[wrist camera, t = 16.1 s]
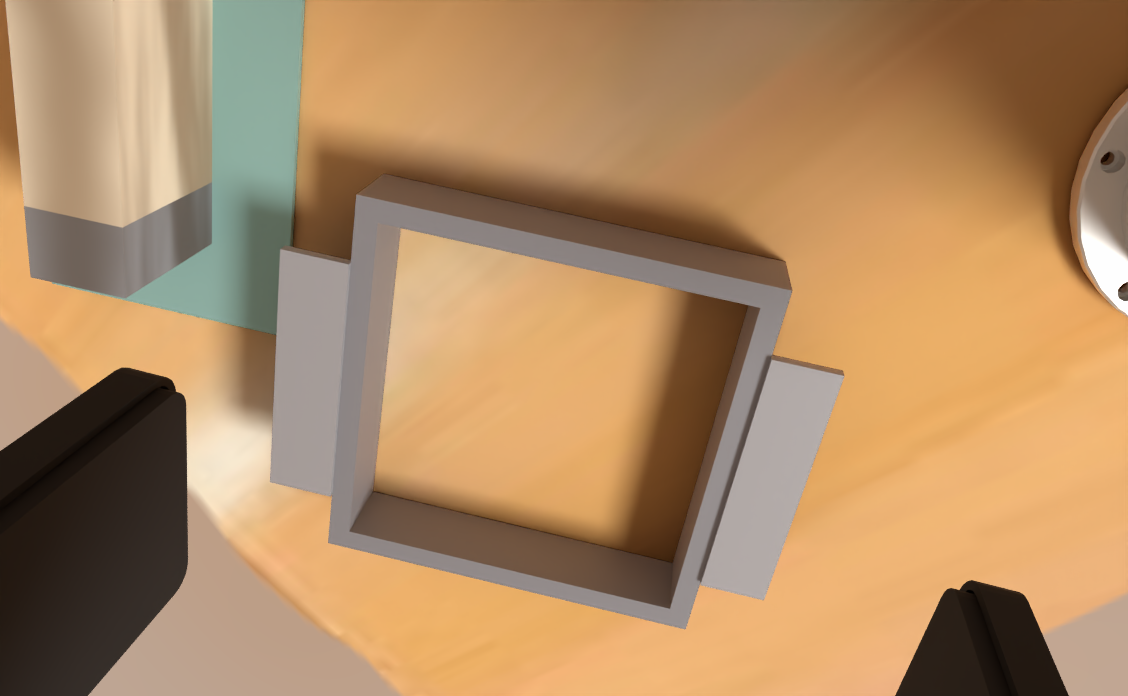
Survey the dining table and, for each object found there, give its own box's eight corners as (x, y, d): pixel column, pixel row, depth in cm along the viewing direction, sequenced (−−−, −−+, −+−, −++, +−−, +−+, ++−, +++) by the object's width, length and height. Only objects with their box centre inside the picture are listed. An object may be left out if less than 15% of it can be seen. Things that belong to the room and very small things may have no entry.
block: (212, -30, 37) (111, -22, 31) (211, 243, 42) (125, 298, 36) (120, -49, 37) (1, -44, 31) (130, 225, 43) (30, 277, 36)
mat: (310, -120, 35) (307, -120, 35) (288, 334, 44) (285, 337, 44) (22, -178, 36) (16, -179, 36) (55, 281, 45) (52, 283, 44)
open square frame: (854, 276, 39) (868, 309, 36) (743, 596, 47) (746, 647, 43) (318, 159, 40) (283, 180, 37) (298, 489, 48) (267, 531, 45)
